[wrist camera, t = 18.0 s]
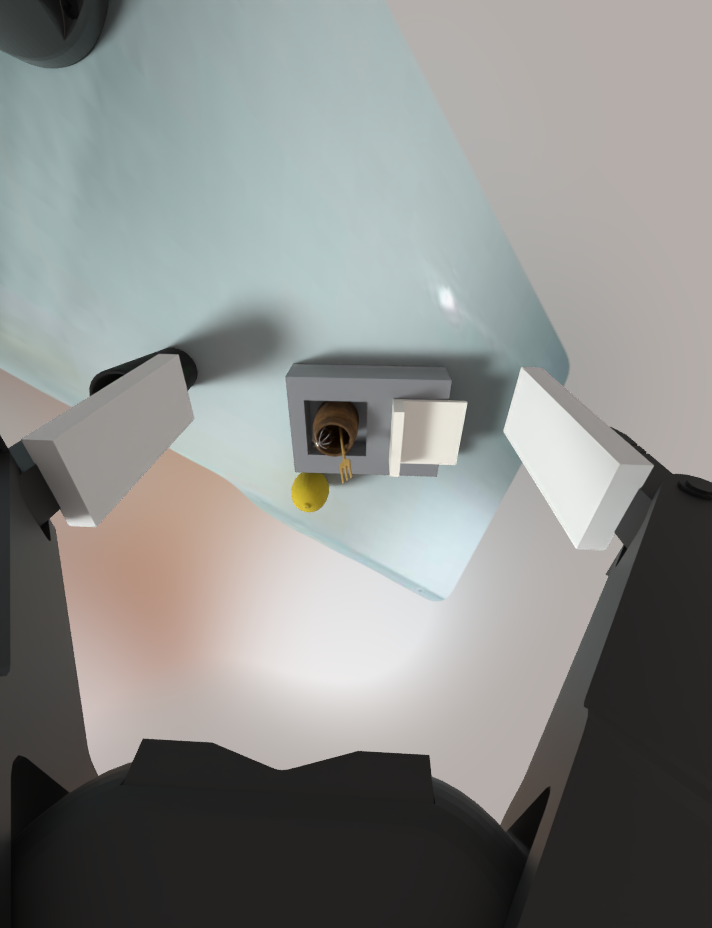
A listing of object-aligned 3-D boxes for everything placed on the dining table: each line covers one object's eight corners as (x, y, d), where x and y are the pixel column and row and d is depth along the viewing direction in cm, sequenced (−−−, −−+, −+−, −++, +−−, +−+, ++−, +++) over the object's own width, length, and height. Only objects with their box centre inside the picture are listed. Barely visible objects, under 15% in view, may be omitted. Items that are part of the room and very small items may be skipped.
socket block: (293, 363, 48) (285, 376, 44) (445, 366, 48) (451, 380, 44) (301, 453, 56) (295, 472, 52) (432, 457, 55) (436, 476, 51)
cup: (211, 357, 48) (168, 391, 38) (197, 404, 52) (155, 446, 42) (153, 328, 47) (92, 356, 37) (143, 379, 51) (85, 417, 41)
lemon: (308, 454, 56) (299, 485, 49) (338, 472, 58) (333, 504, 51) (290, 478, 59) (279, 510, 52) (319, 494, 60) (312, 528, 54)
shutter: (392, 398, 45) (394, 412, 42) (466, 400, 45) (473, 414, 42) (388, 460, 50) (389, 476, 47) (455, 462, 50) (460, 478, 46)
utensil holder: (340, 386, 49) (331, 428, 39) (369, 420, 51) (367, 468, 41) (308, 411, 51) (291, 457, 41) (337, 442, 54) (328, 492, 43)
